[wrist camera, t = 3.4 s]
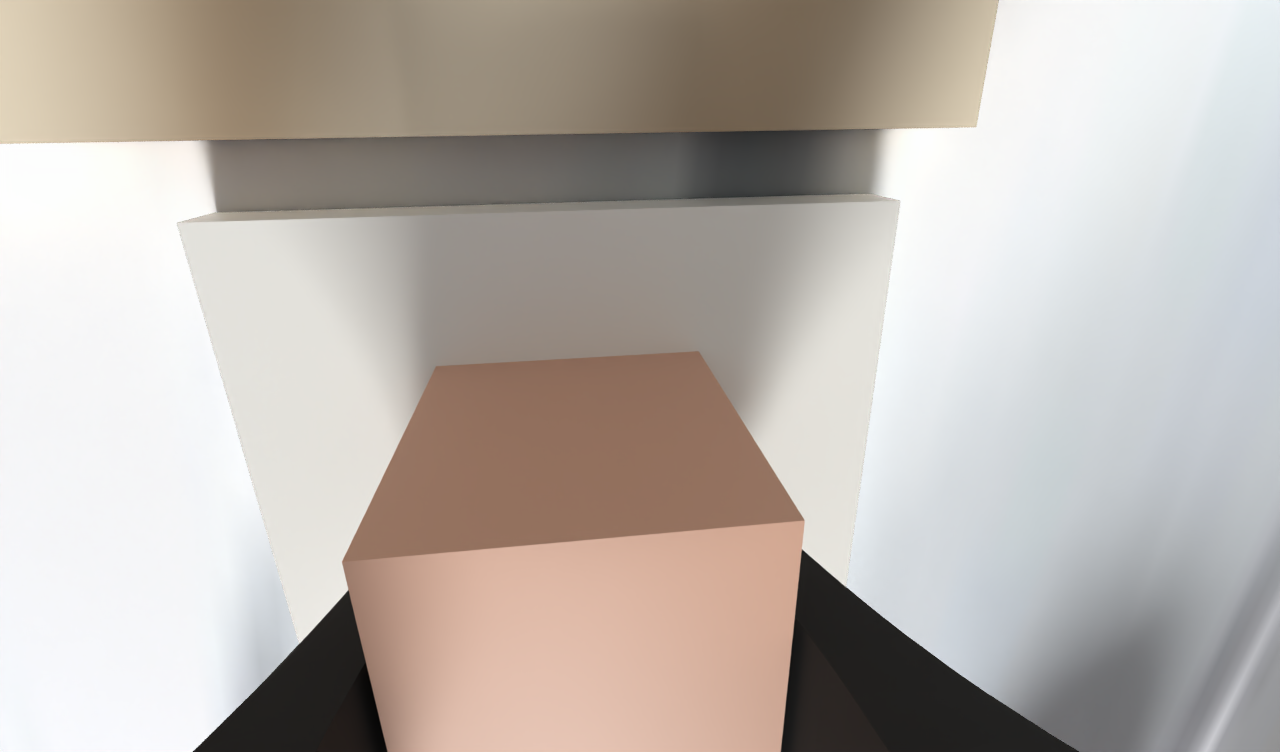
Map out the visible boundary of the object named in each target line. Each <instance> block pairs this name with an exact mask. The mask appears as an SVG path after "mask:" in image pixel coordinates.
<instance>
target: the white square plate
mask: <svg viewBox="0 0 1280 752" xmlns="http://www.w3.org/2000/svg"><path fill="white" fill-rule="evenodd" d="M899 208H900V201H899V200H895V199H891V198H886V197H882V196H878V195H873V194H835V195H801V196H767V197H732V198H698V199H664V200H629V201H595V202H561V203H526V204H492V205H457V206H423V207H389V208H354V209H320V210H286V211H251V212H217V213H211V214H208V215H204V216H200V217H197V218H193V219H189V220H186V221H182V222H178V223H177V226H178V229H179V233H180V236H181V240H182V243H183V247H184V250H185V253H186V257H187V260H188V264H189V267H190V271H191V274H192V278H193V281H194V284H195V288H196V291H197V295H198V298H199V302H200V305H201V308H202V312H203V315H204V319H205V322H206V326H207V329H208V333H209V336H210V339H211V343H212V346H213V350H214V353H215V357H216V360H217V363H218V367H219V370H220V374H221V377H222V381H223V384H224V388H225V391H226V394H227V398H228V401H229V405H230V408H231V412H232V415H233V418H234V422H235V425H236V429H237V432H238V436H239V439H240V442H241V446H242V449H243V453H244V456H245V460H246V463H247V467H248V470H249V473H250V477H251V480H252V484H253V487H254V491H255V494H256V497H257V501H258V504H259V508H260V511H261V515H262V518H263V522H264V525H265V528H266V532H267V535H268V539H269V542H270V546H271V549H272V552H273V556H274V559H275V563H276V566H277V570H278V573H279V577H280V580H281V583H282V587H283V590H284V594H285V597H286V601H287V604H288V607H289V611H290V614H291V618H292V621H293V625H294V628H295V632H296V635H297V638H298V642H299V644H300V643H301V642H302V640H303V639H304V638H305V637H306V636H307V635H308V634H309V633H310V632H311V631H312V630H313V629H314V628H315V626H316V625H317V624H318V623H319V622H320V621H321V620H322V619H323V618H324V617H325V615H326V614H327V613H328V612H329V611H330V610H331V609H332V608H333V607H334V605H335V604H336V603H337V602H338V601H339V600H340V599H341V598H342V597H343V595H344V594H345V593H346V592H347V591H348V586H347V582H346V577H345V573H344V569H343V565H342V561H343V558H344V556H345V554H346V552H347V550H348V548H349V546H350V544H351V542H352V540H353V538H354V536H355V534H356V531H357V529H358V527H359V525H360V523H361V521H362V519H363V517H364V515H365V513H366V511H367V509H368V507H369V504H370V502H371V500H372V498H373V496H374V494H375V492H376V490H377V488H378V486H379V484H380V482H381V480H382V477H383V475H384V473H385V471H386V469H387V467H388V465H389V463H390V461H391V459H392V457H393V455H394V452H395V450H396V448H397V446H398V444H399V442H400V440H401V438H402V436H403V434H404V432H405V430H406V428H407V425H408V423H409V421H410V419H411V417H412V415H413V413H414V411H415V409H416V407H417V405H418V403H419V401H420V398H421V396H422V394H423V392H424V390H425V388H426V386H427V384H428V382H429V380H430V378H431V376H432V374H433V371H434V369H435V367H436V366H449V365H467V364H484V363H502V362H519V361H537V360H554V359H572V358H590V357H607V356H625V355H642V354H660V353H677V352H695V351H699V352H700V354H701V356H702V357H703V359H704V360H705V362H706V364H707V365H708V367H709V368H710V370H711V372H712V373H713V375H714V376H715V378H716V380H717V381H718V383H719V384H720V386H721V388H722V389H723V391H724V392H725V394H726V396H727V397H728V399H729V400H730V402H731V403H732V405H733V407H734V408H735V410H736V411H737V413H738V415H739V416H740V418H741V419H742V421H743V423H744V424H745V426H746V427H747V429H748V431H749V432H750V434H751V435H752V437H753V439H754V440H755V442H756V443H757V445H758V447H759V448H760V450H761V451H762V453H763V455H764V456H765V458H766V459H767V461H768V463H769V464H770V466H771V467H772V469H773V471H774V472H775V474H776V475H777V477H778V479H779V480H780V482H781V483H782V485H783V487H784V488H785V490H786V491H787V493H788V494H789V496H790V498H791V499H792V501H793V502H794V504H795V506H796V507H797V509H798V510H799V512H800V514H801V515H802V517H803V518H804V520H805V524H804V533H803V543H802V550H804V551H805V552H806V553H807V554H808V555H809V556H810V557H812V558H813V559H814V560H815V561H816V562H817V563H819V564H820V565H821V566H822V567H823V568H824V569H825V570H827V571H828V572H829V573H830V574H831V575H832V576H834V577H835V578H836V579H837V580H838V581H839V582H841V583H842V584H843V585H844V586H845V587H846V583H847V576H848V569H849V562H850V555H851V548H852V541H853V534H854V527H855V519H856V512H857V505H858V498H859V491H860V484H861V477H862V470H863V463H864V456H865V449H866V442H867V434H868V427H869V420H870V413H871V406H872V399H873V392H874V385H875V378H876V371H877V364H878V356H879V349H880V342H881V335H882V328H883V321H884V314H885V307H886V300H887V293H888V286H889V279H890V271H891V264H892V257H893V250H894V243H895V236H896V229H897V222H898V215H899Z"/></svg>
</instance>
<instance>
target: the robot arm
mask: <svg viewBox="0 0 1280 752" xmlns="http://www.w3.org/2000/svg"><path fill="white" fill-rule="evenodd" d="M193 752H387V748H386V743H385V739H384V735H383V731H382V727H381V723H380V719H379V714H378V710H377V706H376V702H375V698H374V694H373V690H372V685H371V681H370V677H369V673H368V669H367V665H366V660H365V656H364V652H363V648H362V644H361V640H360V636H359V631H358V627H357V623H356V619H355V615H354V611H353V606H352V602H351V598H350V594H349V590H348V591H347V592H346V593H345V594H344V595H343V597H342V598H341V599H340V600H339V601H338V602H337V603H336V604H335V605H334V607H333V608H332V609H331V610H330V611H329V612H328V613H327V614H326V615H325V617H324V618H323V619H322V620H321V621H320V622H319V623H318V624H317V625H316V626H315V628H314V629H313V630H312V631H311V632H310V633H309V634H308V635H307V636H306V637H305V638H304V639H303V640H302V642H301V643H300V644H299V645H298V646H297V647H296V648H295V649H294V650H293V651H292V652H291V653H290V654H289V655H288V656H287V658H286V659H285V660H284V661H283V662H282V663H281V664H280V665H279V666H278V667H277V668H276V669H275V670H274V671H273V672H272V674H271V675H270V676H269V677H268V678H267V679H266V680H265V681H264V682H263V683H262V684H261V685H260V686H259V687H258V688H257V689H256V690H255V691H254V692H253V693H252V694H251V695H250V696H249V697H248V698H247V699H246V700H245V701H244V702H243V703H242V704H241V705H240V706H239V707H238V708H237V709H236V710H235V711H234V712H233V713H232V714H231V715H230V716H229V717H228V718H227V719H226V720H225V721H224V722H223V723H222V724H221V725H220V726H219V727H218V728H217V729H216V730H215V731H214V732H213V733H212V734H211V735H210V736H209V737H208V738H207V739H205V740H204V741H203V742H202V743H201V744H200V745H199V746H198V747H197V748H196V749H195V750H194V751H193ZM781 752H1079V751H1077V750H1075V749H1074V748H1072V747H1071V746H1069V745H1067V744H1066V743H1064V742H1062V741H1061V740H1059V739H1057V738H1056V737H1054V736H1052V735H1051V734H1049V733H1048V732H1046V731H1044V730H1043V729H1041V728H1040V727H1038V726H1037V725H1035V724H1034V723H1032V722H1031V721H1029V720H1027V719H1026V718H1024V717H1023V716H1021V715H1020V714H1018V713H1017V712H1015V711H1014V710H1012V709H1011V708H1009V707H1007V706H1006V705H1004V704H1003V703H1001V702H1000V701H998V700H997V699H995V698H994V697H992V696H990V695H989V694H987V693H986V692H984V691H983V690H981V689H980V688H979V687H977V686H976V685H974V684H973V683H971V682H970V681H968V680H967V679H965V678H964V677H963V676H961V675H960V674H958V673H957V672H955V671H954V670H953V669H951V668H950V667H948V666H947V665H946V664H944V663H943V662H942V661H940V660H939V659H938V658H936V657H935V656H934V655H932V654H931V653H930V652H928V651H927V650H925V649H924V648H923V647H921V646H920V645H919V644H917V643H916V642H915V641H913V640H912V639H911V638H909V637H908V636H907V635H905V634H904V633H903V632H901V631H900V630H899V629H897V628H896V627H895V626H894V625H892V624H891V623H890V622H889V621H887V620H886V619H885V618H883V617H882V616H881V615H880V614H878V613H877V612H876V611H875V610H873V609H872V608H871V607H870V606H868V605H867V604H866V603H865V602H863V601H862V600H861V599H860V598H859V597H857V596H856V595H855V594H854V593H853V592H851V591H850V590H849V589H848V588H847V587H845V586H844V585H843V584H842V583H841V582H839V581H838V580H837V579H836V578H835V577H834V576H832V575H831V574H830V573H829V572H828V571H827V570H825V569H824V568H823V567H822V566H821V565H820V564H819V563H817V562H816V561H815V560H814V559H813V558H812V557H810V556H809V555H808V554H807V553H806V552H805V551H804V550H802V552H801V562H800V572H799V581H798V591H797V600H796V610H795V620H794V629H793V639H792V648H791V658H790V667H789V677H788V687H787V696H786V706H785V715H784V725H783V735H782V744H781Z"/></svg>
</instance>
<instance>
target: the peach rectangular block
mask: <svg viewBox="0 0 1280 752" xmlns="http://www.w3.org/2000/svg"><path fill="white" fill-rule="evenodd" d="M804 524H805V520H804V518H803V517H802V515H801V514H800V512H799V510H798V509H797V507H796V506H795V504H794V502H793V501H792V499H791V498H790V496H789V494H788V493H787V491H786V490H785V488H784V487H783V485H782V483H781V482H780V480H779V479H778V477H777V475H776V474H775V472H774V471H773V469H772V467H771V466H770V464H769V463H768V461H767V459H766V458H765V456H764V455H763V453H762V451H761V450H760V448H759V447H758V445H757V443H756V442H755V440H754V439H753V437H752V435H751V434H750V432H749V431H748V429H747V427H746V426H745V424H744V423H743V421H742V419H741V418H740V416H739V415H738V413H737V411H736V410H735V408H734V407H733V405H732V403H731V402H730V400H729V399H728V397H727V396H726V394H725V392H724V391H723V389H722V388H721V386H720V384H719V383H718V381H717V380H716V378H715V376H714V375H713V373H712V372H711V370H710V368H709V367H708V365H707V364H706V362H705V360H704V359H703V357H702V356H701V354H700V352H699V351H695V352H677V353H660V354H642V355H625V356H607V357H590V358H572V359H554V360H537V361H519V362H502V363H484V364H467V365H449V366H436V367H435V369H434V371H433V374H432V376H431V378H430V380H429V382H428V384H427V386H426V388H425V390H424V392H423V394H422V396H421V398H420V401H419V403H418V405H417V407H416V409H415V411H414V413H413V415H412V417H411V419H410V421H409V423H408V425H407V428H406V430H405V432H404V434H403V436H402V438H401V440H400V442H399V444H398V446H397V448H396V450H395V452H394V455H393V457H392V459H391V461H390V463H389V465H388V467H387V469H386V471H385V473H384V475H383V477H382V480H381V482H380V484H379V486H378V488H377V490H376V492H375V494H374V496H373V498H372V500H371V502H370V504H369V507H368V509H367V511H366V513H365V515H364V517H363V519H362V521H361V523H360V525H359V527H358V529H357V531H356V534H355V536H354V538H353V540H352V542H351V544H350V546H349V548H348V550H347V552H346V554H345V556H344V558H343V561H342V565H343V569H344V573H345V577H346V582H347V586H348V590H349V594H350V598H351V602H352V606H353V611H354V615H355V619H356V623H357V627H358V631H359V636H360V640H361V644H362V648H363V652H364V656H365V660H366V665H367V669H368V673H369V677H370V681H371V685H372V690H373V694H374V698H375V702H376V706H377V710H378V714H379V719H380V723H381V727H382V731H383V735H384V739H385V743H386V748H387V752H781V744H782V735H783V725H784V715H785V706H786V696H787V687H788V677H789V667H790V658H791V648H792V639H793V629H794V620H795V610H796V600H797V591H798V581H799V572H800V562H801V552H802V543H803V533H804Z"/></svg>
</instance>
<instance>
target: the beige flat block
mask: <svg viewBox="0 0 1280 752" xmlns="http://www.w3.org/2000/svg"><path fill="white" fill-rule="evenodd" d="M998 2H999V0H0V144H14V143H73V142H132V141H191V140H250V139H309V138H368V137H427V136H486V135H545V134H604V133H663V132H722V131H781V130H840V129H899V128H958V127H976V125H977V120H978V114H979V108H980V103H981V97H982V91H983V86H984V80H985V75H986V69H987V63H988V58H989V52H990V47H991V41H992V35H993V30H994V24H995V19H996V13H997V7H998Z"/></svg>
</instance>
